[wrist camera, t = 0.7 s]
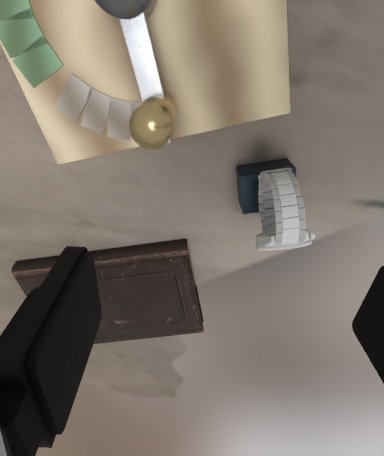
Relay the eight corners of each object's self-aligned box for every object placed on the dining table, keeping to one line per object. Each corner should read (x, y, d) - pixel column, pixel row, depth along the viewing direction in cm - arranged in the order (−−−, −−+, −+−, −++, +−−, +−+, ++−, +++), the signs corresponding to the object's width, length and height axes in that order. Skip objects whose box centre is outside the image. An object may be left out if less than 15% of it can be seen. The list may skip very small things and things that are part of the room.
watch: (240, 215, 35) (258, 276, 25) (234, 150, 30) (253, 193, 21) (287, 209, 34) (323, 268, 25) (288, 141, 30) (331, 181, 21)
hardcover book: (203, 320, 45) (204, 332, 43) (64, 335, 47) (58, 347, 45) (186, 235, 37) (186, 246, 35) (18, 258, 39) (9, 269, 37)
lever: (92, -41, 21) (46, -85, 15) (148, -58, 21) (128, -112, 14) (147, 145, 29) (133, 174, 22) (190, 135, 28) (189, 162, 21)
